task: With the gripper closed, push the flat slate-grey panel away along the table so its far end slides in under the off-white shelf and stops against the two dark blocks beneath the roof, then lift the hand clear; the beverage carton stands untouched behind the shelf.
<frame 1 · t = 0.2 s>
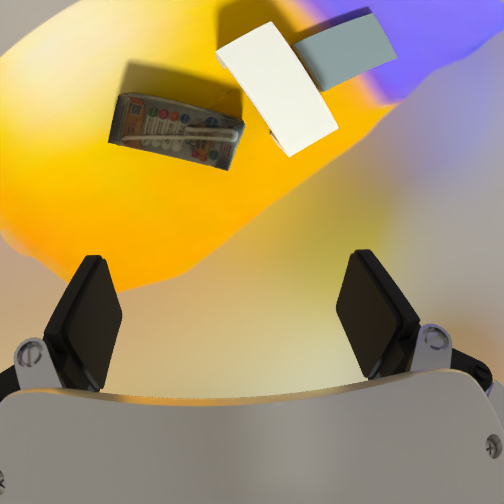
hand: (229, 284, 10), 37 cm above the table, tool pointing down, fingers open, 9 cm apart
beverage carton: (179, 125, 40), on the table
panel: (344, 50, 35), on the table
shelf: (269, 88, 38), on the table
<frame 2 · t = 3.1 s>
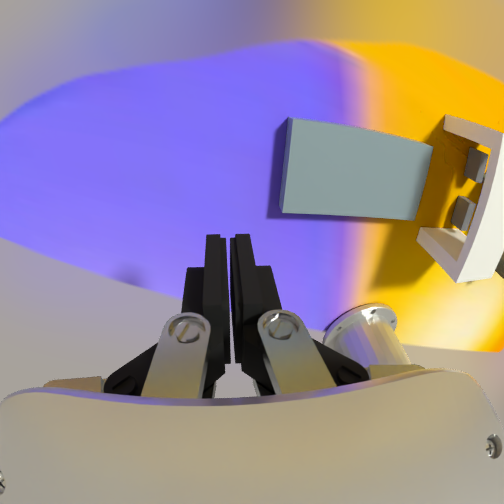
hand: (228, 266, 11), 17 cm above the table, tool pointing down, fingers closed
panel: (356, 168, 27), on the table
shelf: (453, 183, 28), on the table
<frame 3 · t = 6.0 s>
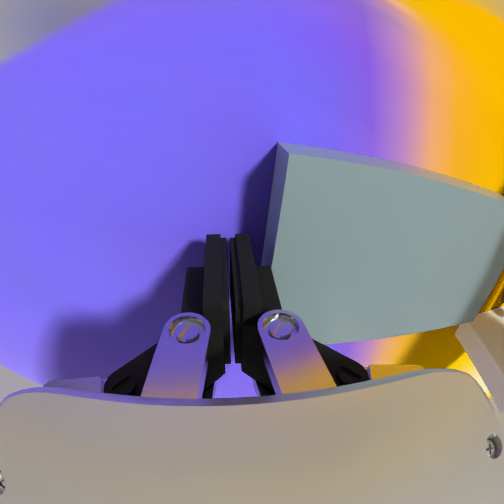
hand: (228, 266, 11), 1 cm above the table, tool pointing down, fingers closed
panel: (406, 247, 14), on the table, touching gripper
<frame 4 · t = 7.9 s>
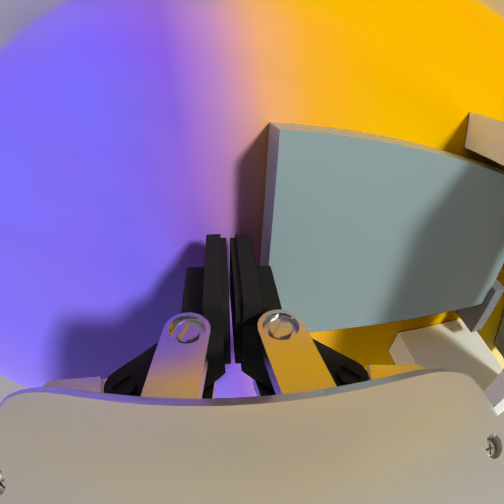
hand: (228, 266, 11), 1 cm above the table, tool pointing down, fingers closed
panel: (409, 227, 13), on the table
shelf: (471, 253, 14), on the table
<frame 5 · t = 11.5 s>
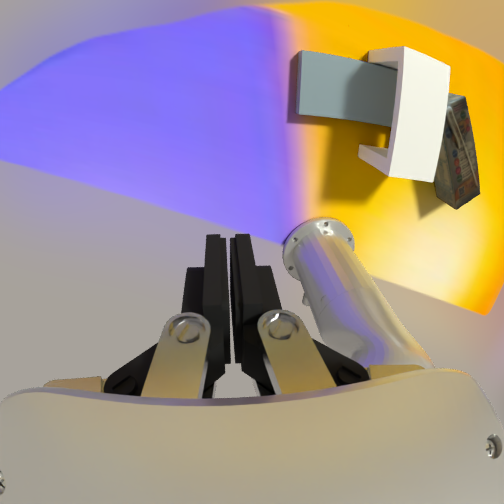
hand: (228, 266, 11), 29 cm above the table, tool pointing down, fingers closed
beverage carton: (440, 145, 38), on the table
panel: (349, 89, 33), on the table
shelf: (386, 108, 34), on the table
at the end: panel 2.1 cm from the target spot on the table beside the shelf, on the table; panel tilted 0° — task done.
